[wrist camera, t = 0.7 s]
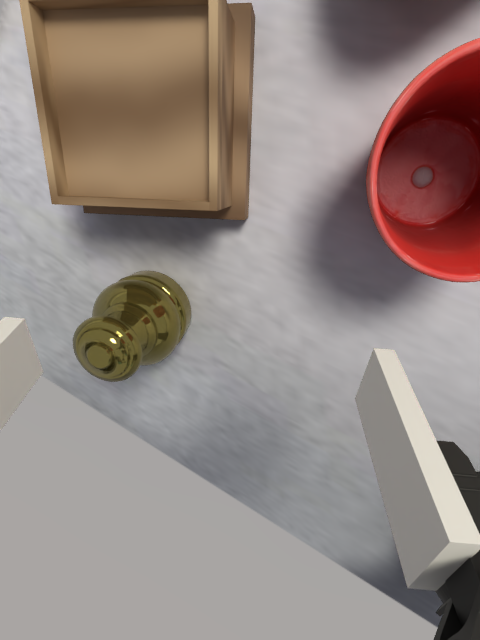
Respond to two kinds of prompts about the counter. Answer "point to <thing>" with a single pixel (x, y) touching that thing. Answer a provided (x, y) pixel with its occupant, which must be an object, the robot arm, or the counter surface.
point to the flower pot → (432, 169)
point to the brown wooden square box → (144, 104)
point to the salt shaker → (132, 326)
